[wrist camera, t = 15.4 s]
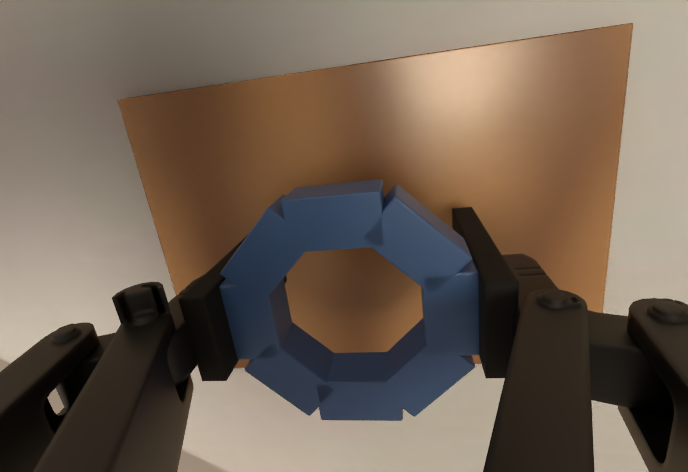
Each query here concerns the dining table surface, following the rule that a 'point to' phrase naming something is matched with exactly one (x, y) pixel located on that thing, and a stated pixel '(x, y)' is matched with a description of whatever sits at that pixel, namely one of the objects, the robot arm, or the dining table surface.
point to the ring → (362, 367)
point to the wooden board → (397, 166)
